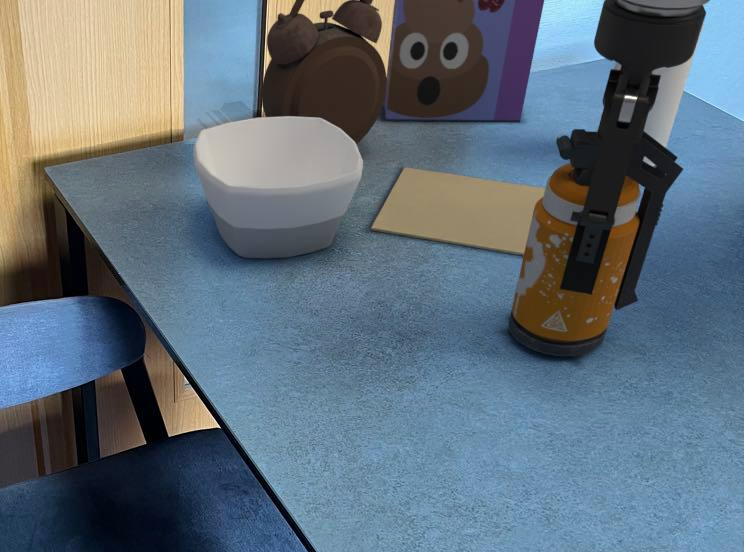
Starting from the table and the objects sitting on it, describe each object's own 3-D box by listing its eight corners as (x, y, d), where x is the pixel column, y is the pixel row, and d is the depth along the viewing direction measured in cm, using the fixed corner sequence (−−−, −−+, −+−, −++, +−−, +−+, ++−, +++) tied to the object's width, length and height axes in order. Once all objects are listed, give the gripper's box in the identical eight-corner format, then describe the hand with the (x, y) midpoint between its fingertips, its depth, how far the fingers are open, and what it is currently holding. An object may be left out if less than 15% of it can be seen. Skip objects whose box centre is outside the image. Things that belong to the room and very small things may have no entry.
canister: (502, 308, 103) (546, 108, 89) (615, 313, 102) (677, 111, 88) (512, 360, 97) (560, 153, 83) (633, 365, 96) (702, 157, 82)
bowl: (181, 204, 120) (178, 124, 113) (327, 187, 122) (333, 108, 116) (213, 282, 108) (212, 198, 101) (375, 262, 110) (385, 178, 103)
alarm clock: (353, 134, 133) (367, -37, 119) (383, 156, 128) (401, -20, 114) (252, 156, 129) (255, -18, 115) (279, 180, 124) (285, 1, 110)
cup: (653, 174, 123) (696, 33, 112) (585, 160, 126) (620, 22, 115) (669, 148, 128) (711, 10, 117) (602, 135, 131) (637, 0, 120)
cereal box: (385, 120, 136) (408, -87, 119) (383, 106, 139) (404, -98, 122) (519, 122, 135) (561, -87, 118) (514, 107, 138) (554, -98, 121)
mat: (572, 194, 120) (573, 192, 120) (553, 260, 110) (554, 258, 109) (404, 169, 126) (404, 167, 125) (370, 230, 115) (370, 227, 115)
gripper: (620, -51, 88) (561, 186, 103) (586, 49, 71) (521, 314, 86) (714, -42, 86) (639, 198, 101) (701, 63, 69) (614, 332, 84)
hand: (585, 252), depth 93 cm, fingers open, 13 cm apart
